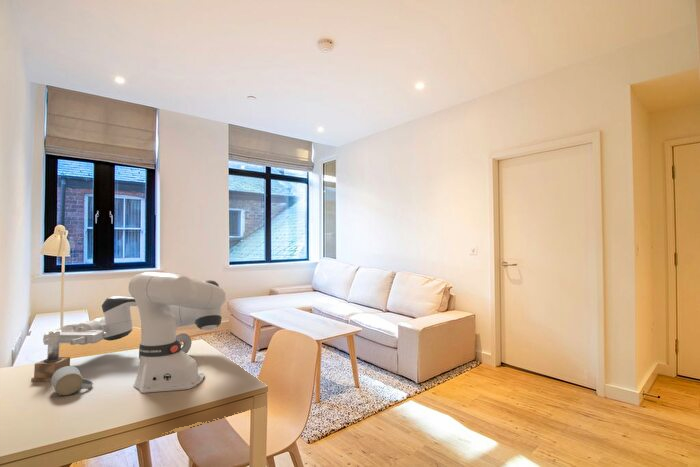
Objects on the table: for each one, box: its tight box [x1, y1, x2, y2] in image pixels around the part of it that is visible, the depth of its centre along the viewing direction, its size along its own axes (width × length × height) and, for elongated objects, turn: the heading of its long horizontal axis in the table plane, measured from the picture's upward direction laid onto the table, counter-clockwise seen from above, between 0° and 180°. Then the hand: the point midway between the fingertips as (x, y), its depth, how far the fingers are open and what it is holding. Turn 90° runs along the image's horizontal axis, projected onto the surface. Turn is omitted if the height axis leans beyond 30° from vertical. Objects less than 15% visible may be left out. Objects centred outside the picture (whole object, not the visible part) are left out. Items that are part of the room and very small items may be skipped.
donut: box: [176, 333, 192, 354], centre depth 151 cm, size 10×4×10 cm, turn 153°
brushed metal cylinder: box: [46, 330, 60, 361], centre depth 126 cm, size 3×3×10 cm
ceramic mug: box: [50, 365, 94, 397], centre depth 115 cm, size 11×8×8 cm
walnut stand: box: [31, 356, 71, 382], centre depth 126 cm, size 8×8×6 cm
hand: (59, 342), depth 129 cm, fingers open, 8 cm apart
